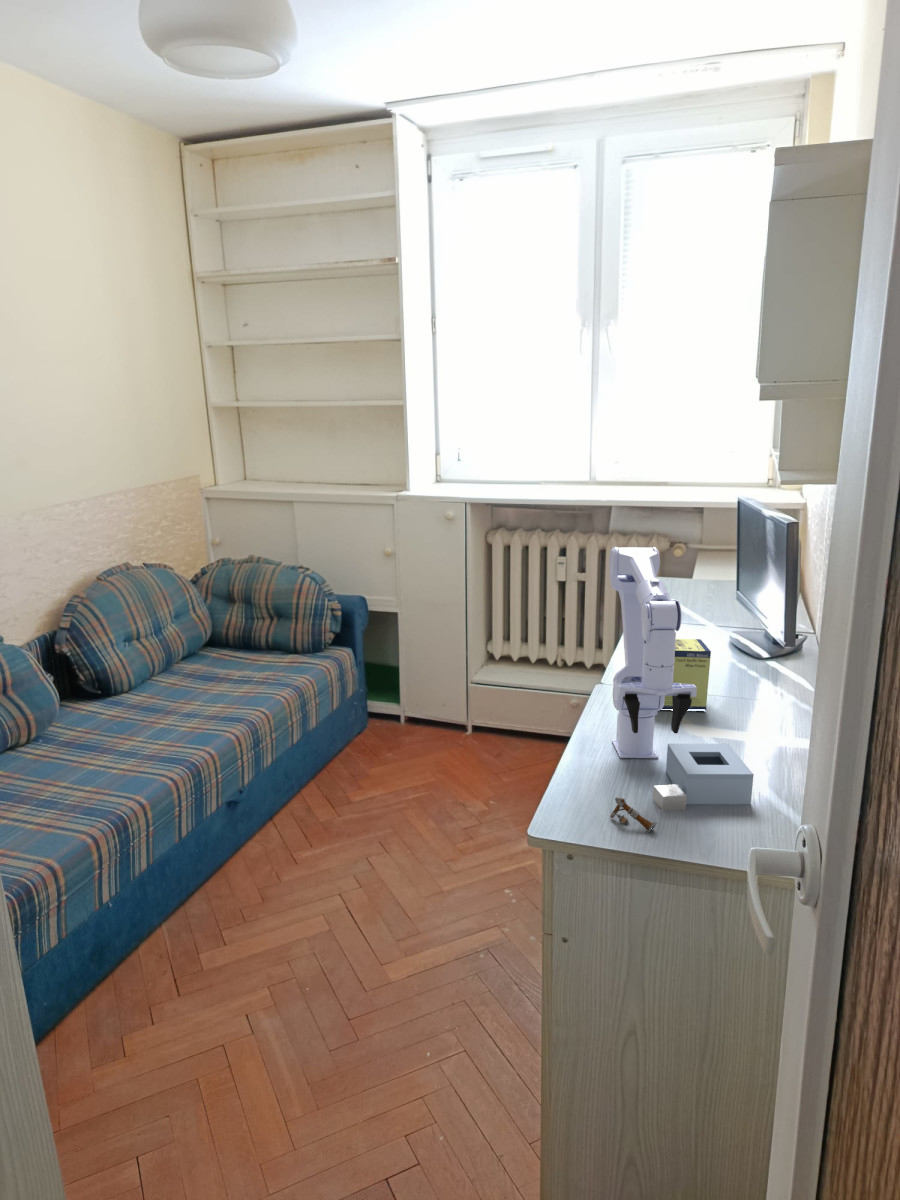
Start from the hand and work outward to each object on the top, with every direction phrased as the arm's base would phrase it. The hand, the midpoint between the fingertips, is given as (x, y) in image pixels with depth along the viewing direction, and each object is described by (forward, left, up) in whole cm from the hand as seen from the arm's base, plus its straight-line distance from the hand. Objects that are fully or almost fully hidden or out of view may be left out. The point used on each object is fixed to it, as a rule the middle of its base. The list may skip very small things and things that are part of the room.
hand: (654, 731), depth 157 cm
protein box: (-44, +15, -11) cm, 47 cm away
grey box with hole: (+2, +10, -10) cm, 15 cm away
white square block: (+9, +1, -11) cm, 14 cm away
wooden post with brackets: (+18, -7, -11) cm, 22 cm away
